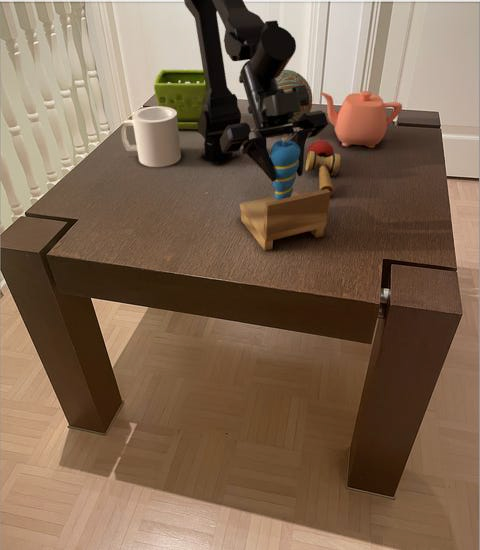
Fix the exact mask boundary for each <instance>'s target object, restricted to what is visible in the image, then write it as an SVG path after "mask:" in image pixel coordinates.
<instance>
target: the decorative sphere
mask: <svg viewBox="0 0 480 550" xmlns="http://www.w3.org/2000/svg"><path fill="white" fill-rule="evenodd" d="M276 81H277V84H278V87H279V89H283V91H284V92H285V93H289V92H292V88H293V87H296V86H301V85H306V88H307V90H308V93H309V100H310V102H309V104H308V105H306V106H301V112H293V114H294V117H293V118H292V119H289V120H288V122H289V123H290V122H296V121H298V120H299V119H300V118H301V116H302V115H303V114H304V113H308V112H311V110H312V108H313V107H312V106H313V93H312V89H311V86H310V85H309V84H310V83H309V82H308V81H307V79H306V78H305V77H304V76H302V75H301V74H300V73H298V72H296V71H294V70H290V69H284V70H283V71H282V73H281V74H280V76H278V77H277V78H276Z"/></svg>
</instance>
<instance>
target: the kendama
mask: <svg viewBox="0 0 480 550" xmlns="http://www.w3.org/2000/svg"><path fill="white" fill-rule="evenodd" d="M307 149H308V150H307V154H306V160H305V161H306V162H305V171H306V172H312V171H313V170H317V169H318V170H319V172H318V184H319V186H318V187H319V189H318V191H320V190H324V189H328V190H329V191H330V197H332V196H333V195H334V193H335V190H334V186H333V183H332V180H331V176H334V177H335V176H337V175H338V172H339V170H340V166H341V154H339V153H334V152H335V151H334V147H333V146H332V144H331V143H330V142H328V141H327V140H323V139H319V140H316V141H314V142H312V143H311V144H310V145H309V147H308V148H307Z"/></svg>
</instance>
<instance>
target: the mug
mask: <svg viewBox="0 0 480 550" xmlns="http://www.w3.org/2000/svg"><path fill="white" fill-rule="evenodd" d="M127 127H133V132H134V137H135V138H134V139H135V143H136V144H131V143H130V142H129V140H128V138H127ZM120 137H121V142H122V144H123V146H124V149H125V150H126V152H137V156H138V161H139V163H140V164H142V165H143V166H146V167H150V168H162V167H163V168H164V167H168V166H172V165H175V164H176V163H178V162H179V161H180V160H181V158H182V153H181V143H180V131H179V129H178V121H177V112H176V111H175V110H174V109H172V108H169V107H162V106H159V105H156V106H154V105H153V106H147V107H142V108H140V109H137V110H135V111H134V112H133V113H132V115H131V119H125V120H124V121H123V124H122V127H121V130H120Z"/></svg>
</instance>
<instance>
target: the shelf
mask: <svg viewBox="0 0 480 550" xmlns="http://www.w3.org/2000/svg"><path fill="white" fill-rule="evenodd" d="M330 198H331V196H330V191H329V190H328V189H324V190H320V191H319V190H316V191H311V192H306V193H303V194H299V193H298V192H297V191H292V194H291V197H288V198H284V199H280V200H276V199H275V196H274V195H272V196H267V197H263V198H258V199H254V200H249V201H244V202H240V203H239V209H240V217H241V218H240V221H241V222H242V223H243V224H244V225H245V227H246V228H247V229H248V231H249V232H250V234H251V235H252V237H254V239H255V240H256V242H257V243H258V244H259V246H261V248H262V249H263V251H266V252H267V251H269V250H273V246H274V245H273V244H274V241H275V240H279V239H282V238H287V237H290V236H295V235H299V234H302V233H307V232H310V234H311V235H312V236H313V237H314V238H320V237H323V236H324V231H325V228H326V227H327V220H328V213H329V206H330Z"/></svg>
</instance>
